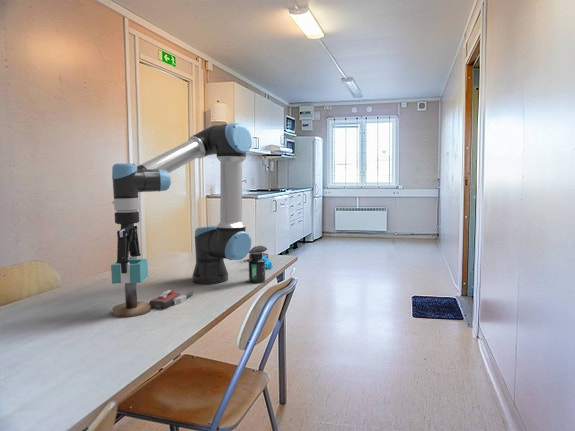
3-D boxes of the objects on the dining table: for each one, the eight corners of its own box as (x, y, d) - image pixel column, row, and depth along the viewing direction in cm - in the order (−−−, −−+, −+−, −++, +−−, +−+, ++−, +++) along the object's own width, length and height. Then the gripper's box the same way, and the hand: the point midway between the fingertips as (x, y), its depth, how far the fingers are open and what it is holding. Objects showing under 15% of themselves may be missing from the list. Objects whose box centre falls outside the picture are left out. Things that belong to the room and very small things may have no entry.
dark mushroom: (250, 270, 227) (241, 253, 226) (257, 264, 236) (248, 248, 236) (268, 261, 223) (259, 244, 222) (275, 255, 232) (265, 239, 232)
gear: (267, 267, 203) (254, 251, 206) (258, 276, 205) (246, 259, 208) (277, 266, 213) (265, 250, 216) (269, 274, 215) (257, 258, 218)
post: (138, 305, 149) (136, 264, 148) (135, 308, 145) (133, 266, 144) (127, 305, 149) (125, 264, 147) (124, 308, 145) (122, 266, 144)
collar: (148, 276, 151) (147, 258, 150) (140, 282, 142) (139, 264, 141) (121, 277, 150) (120, 259, 150) (112, 283, 142) (111, 265, 141)
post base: (154, 305, 154) (154, 301, 153) (145, 316, 142) (145, 312, 141) (119, 306, 153) (119, 302, 153) (107, 317, 141) (106, 313, 141)
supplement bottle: (255, 284, 180) (254, 255, 179) (245, 281, 185) (245, 253, 184) (268, 281, 185) (268, 253, 184) (258, 278, 190) (258, 251, 189)
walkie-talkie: (169, 312, 147) (196, 295, 167) (168, 299, 147) (196, 284, 166) (146, 310, 150) (175, 294, 169) (145, 297, 149) (174, 283, 168)
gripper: (125, 208, 155) (128, 272, 157) (102, 214, 133) (107, 288, 135) (147, 208, 155) (150, 271, 157) (128, 214, 133) (132, 287, 136)
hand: (130, 279), depth 146 cm, fingers closed on collar, 9 cm apart
